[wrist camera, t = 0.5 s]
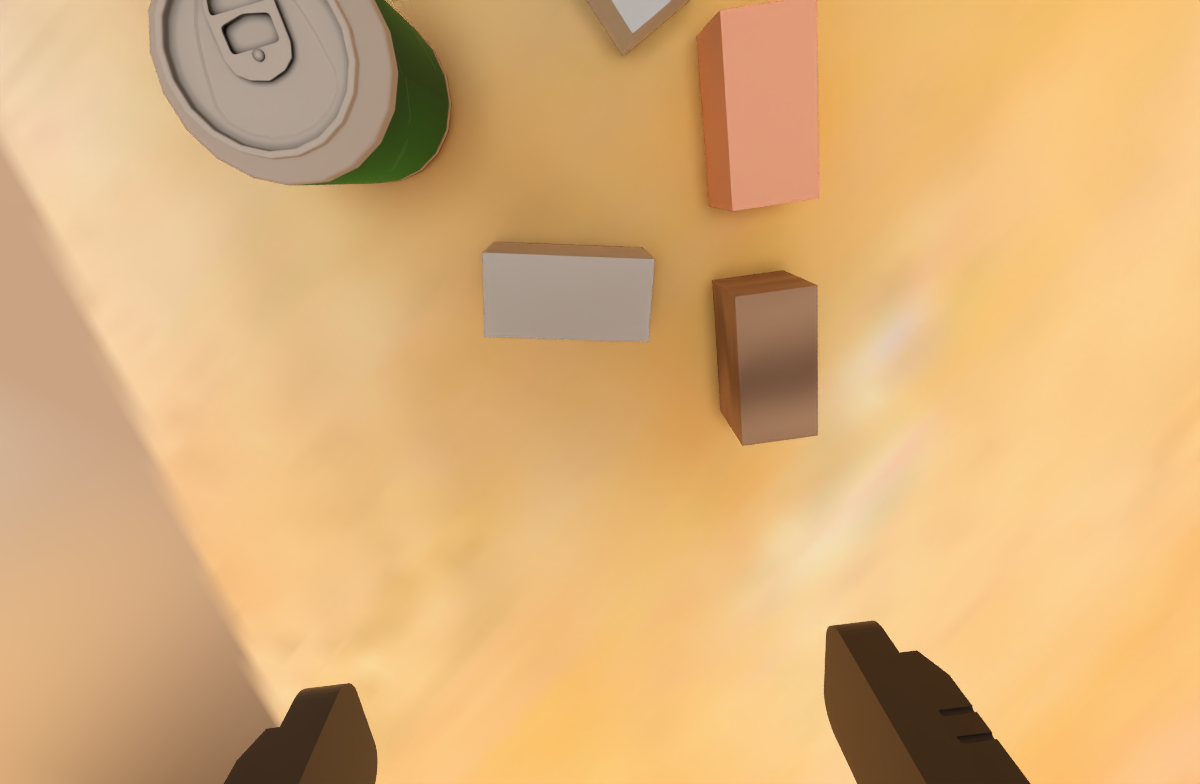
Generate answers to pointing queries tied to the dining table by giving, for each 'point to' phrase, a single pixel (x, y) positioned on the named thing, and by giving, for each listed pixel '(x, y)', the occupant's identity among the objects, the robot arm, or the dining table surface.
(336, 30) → the soda can
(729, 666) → the dining table surface
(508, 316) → the slate brick
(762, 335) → the walnut brick
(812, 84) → the terracotta brick
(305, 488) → the dining table surface
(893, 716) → the robot arm
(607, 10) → the blue-grey brick
